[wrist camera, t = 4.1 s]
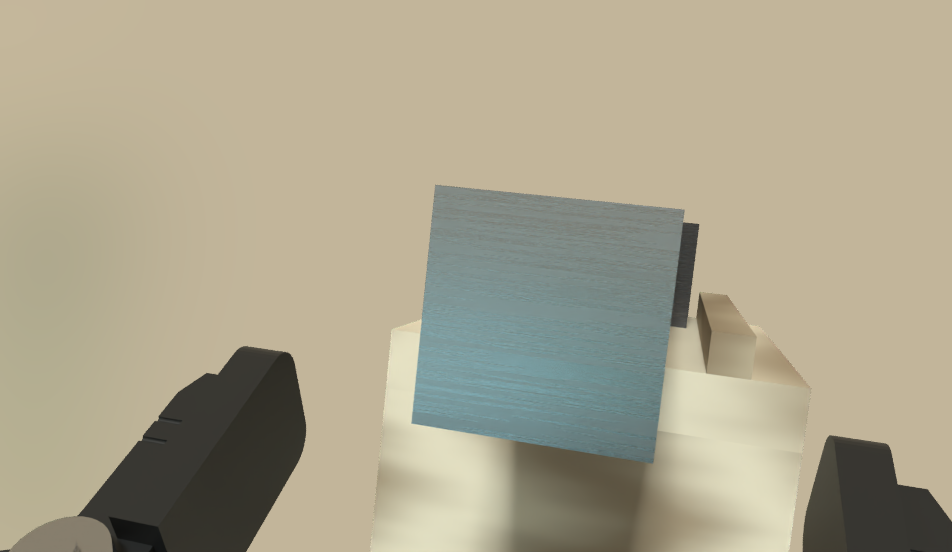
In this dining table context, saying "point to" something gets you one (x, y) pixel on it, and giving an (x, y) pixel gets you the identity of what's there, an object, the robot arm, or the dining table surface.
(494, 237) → the gray block
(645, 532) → the beige patterned box
